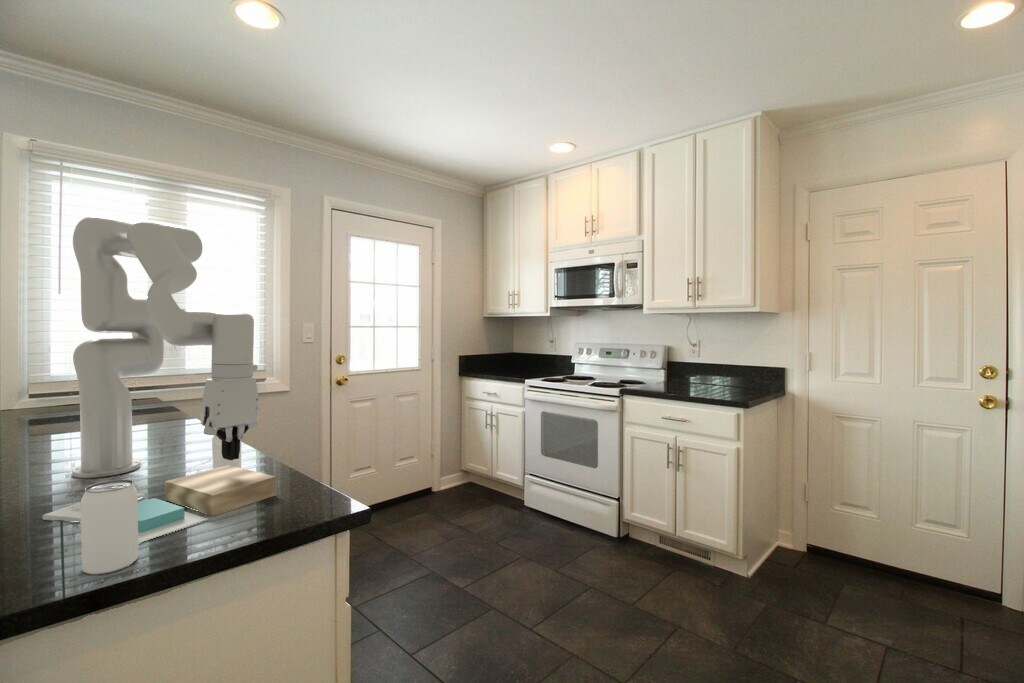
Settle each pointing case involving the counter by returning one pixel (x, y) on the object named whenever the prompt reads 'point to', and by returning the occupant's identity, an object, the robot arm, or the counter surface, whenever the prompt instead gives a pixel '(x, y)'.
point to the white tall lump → (218, 458)
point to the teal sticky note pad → (157, 514)
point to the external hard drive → (69, 512)
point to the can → (109, 526)
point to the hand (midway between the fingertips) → (230, 458)
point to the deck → (220, 489)
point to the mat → (171, 527)
